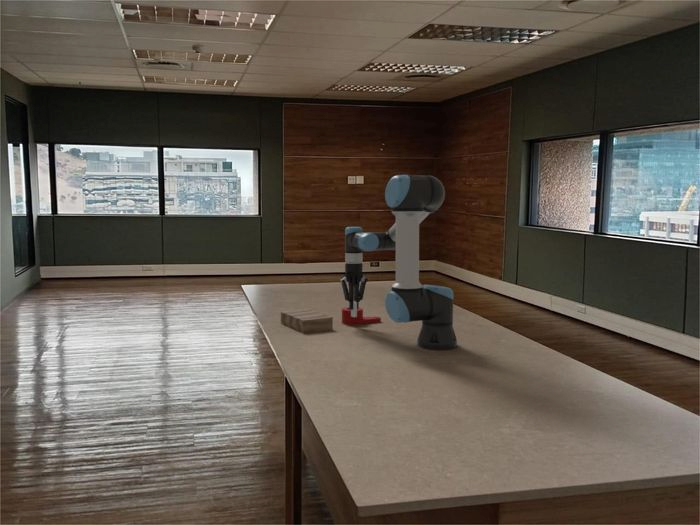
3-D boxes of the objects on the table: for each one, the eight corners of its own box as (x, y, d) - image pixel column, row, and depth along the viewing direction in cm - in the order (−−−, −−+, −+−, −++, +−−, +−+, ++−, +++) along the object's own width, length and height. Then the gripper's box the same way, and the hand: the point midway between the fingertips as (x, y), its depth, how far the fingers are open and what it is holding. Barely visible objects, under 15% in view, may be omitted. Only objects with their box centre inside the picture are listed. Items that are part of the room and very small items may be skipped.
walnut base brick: (332, 331, 267) (332, 317, 266) (302, 334, 260) (302, 320, 259) (309, 321, 285) (308, 308, 285) (280, 325, 278) (280, 311, 278)
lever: (344, 326, 275) (344, 311, 274) (339, 322, 284) (339, 307, 283) (383, 324, 280) (384, 309, 279) (377, 320, 289) (377, 305, 288)
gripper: (362, 261, 277) (362, 314, 280) (336, 262, 271) (336, 316, 274) (371, 262, 271) (371, 316, 273) (344, 264, 265) (344, 319, 267)
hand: (353, 316), depth 273 cm, fingers closed
